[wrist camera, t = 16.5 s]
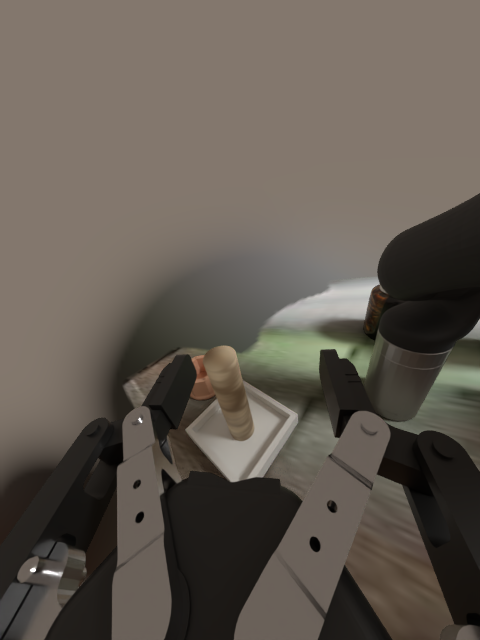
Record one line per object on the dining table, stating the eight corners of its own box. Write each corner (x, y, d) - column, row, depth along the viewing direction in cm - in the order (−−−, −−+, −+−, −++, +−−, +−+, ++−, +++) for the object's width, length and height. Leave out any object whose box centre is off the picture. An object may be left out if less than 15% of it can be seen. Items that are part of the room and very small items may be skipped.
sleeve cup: (208, 364, 58) (202, 349, 55) (232, 379, 52) (227, 363, 49) (180, 387, 53) (172, 372, 50) (203, 407, 47) (195, 392, 43)
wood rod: (241, 411, 43) (220, 341, 32) (259, 425, 40) (242, 353, 29) (225, 430, 40) (196, 360, 30) (243, 446, 37) (218, 375, 26)
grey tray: (240, 384, 50) (238, 377, 49) (297, 422, 40) (297, 414, 38) (189, 437, 41) (185, 429, 40) (246, 502, 31) (243, 495, 30)
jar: (373, 347, 53) (386, 297, 45) (357, 322, 62) (365, 277, 54) (424, 344, 51) (448, 291, 42) (399, 318, 60) (414, 271, 52)
